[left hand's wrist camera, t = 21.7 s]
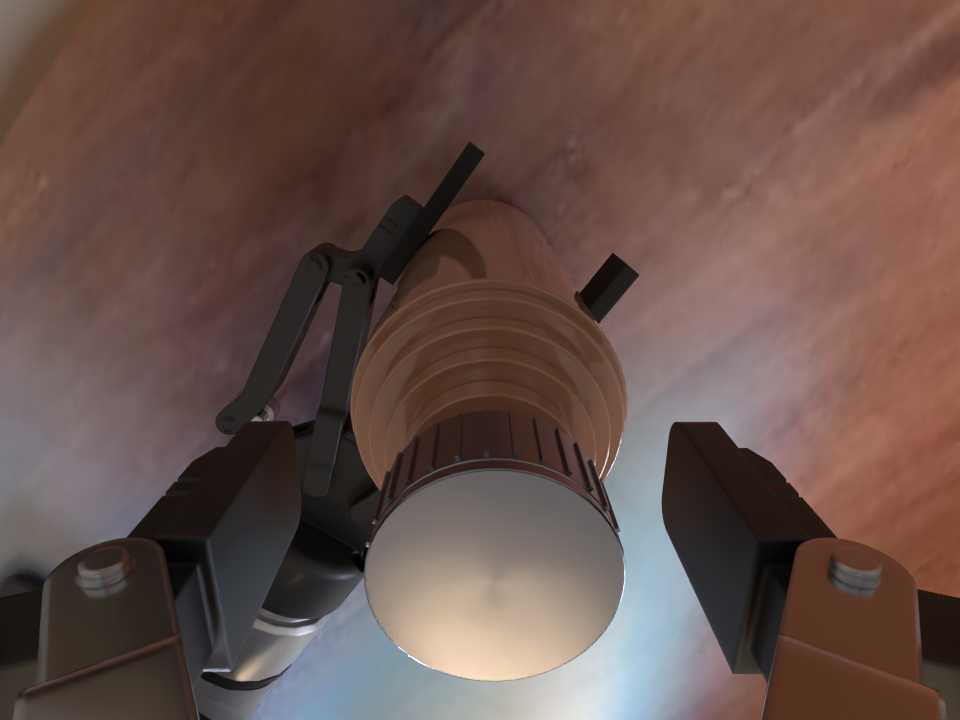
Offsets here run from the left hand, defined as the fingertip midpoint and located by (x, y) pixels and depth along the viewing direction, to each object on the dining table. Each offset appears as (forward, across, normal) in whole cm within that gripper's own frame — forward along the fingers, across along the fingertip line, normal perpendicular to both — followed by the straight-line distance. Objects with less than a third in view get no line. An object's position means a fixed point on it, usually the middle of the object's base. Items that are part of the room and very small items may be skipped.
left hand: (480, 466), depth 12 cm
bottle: (+23, 0, +1) cm, 23 cm away
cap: (-1, 0, +1) cm, 2 cm away
